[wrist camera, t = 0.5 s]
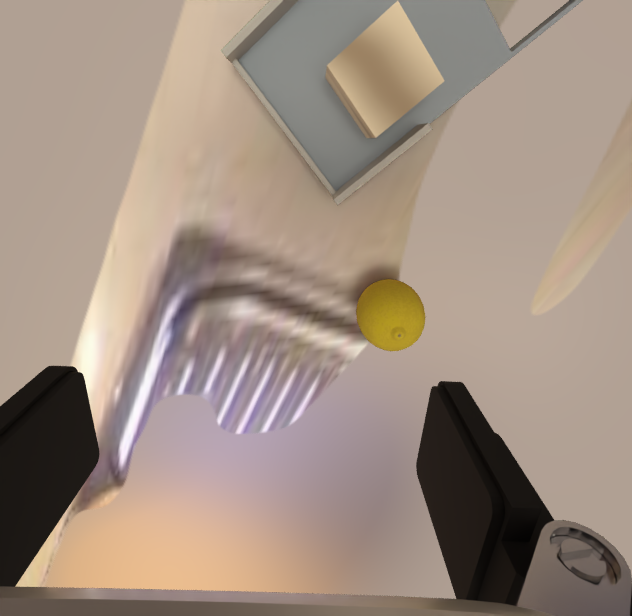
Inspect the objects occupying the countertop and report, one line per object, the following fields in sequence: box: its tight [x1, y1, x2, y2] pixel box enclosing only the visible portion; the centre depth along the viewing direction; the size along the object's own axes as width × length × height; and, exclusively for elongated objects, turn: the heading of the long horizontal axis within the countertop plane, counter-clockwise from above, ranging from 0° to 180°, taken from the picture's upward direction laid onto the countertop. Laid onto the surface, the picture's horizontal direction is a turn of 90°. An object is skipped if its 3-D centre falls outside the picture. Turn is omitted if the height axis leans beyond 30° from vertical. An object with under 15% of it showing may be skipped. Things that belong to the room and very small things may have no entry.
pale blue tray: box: [221, 0, 583, 205], centre depth 26 cm, size 22×12×5 cm, turn 129°
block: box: [325, 1, 444, 138], centre depth 25 cm, size 5×5×5 cm
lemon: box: [356, 279, 425, 351], centre depth 33 cm, size 6×6×8 cm
